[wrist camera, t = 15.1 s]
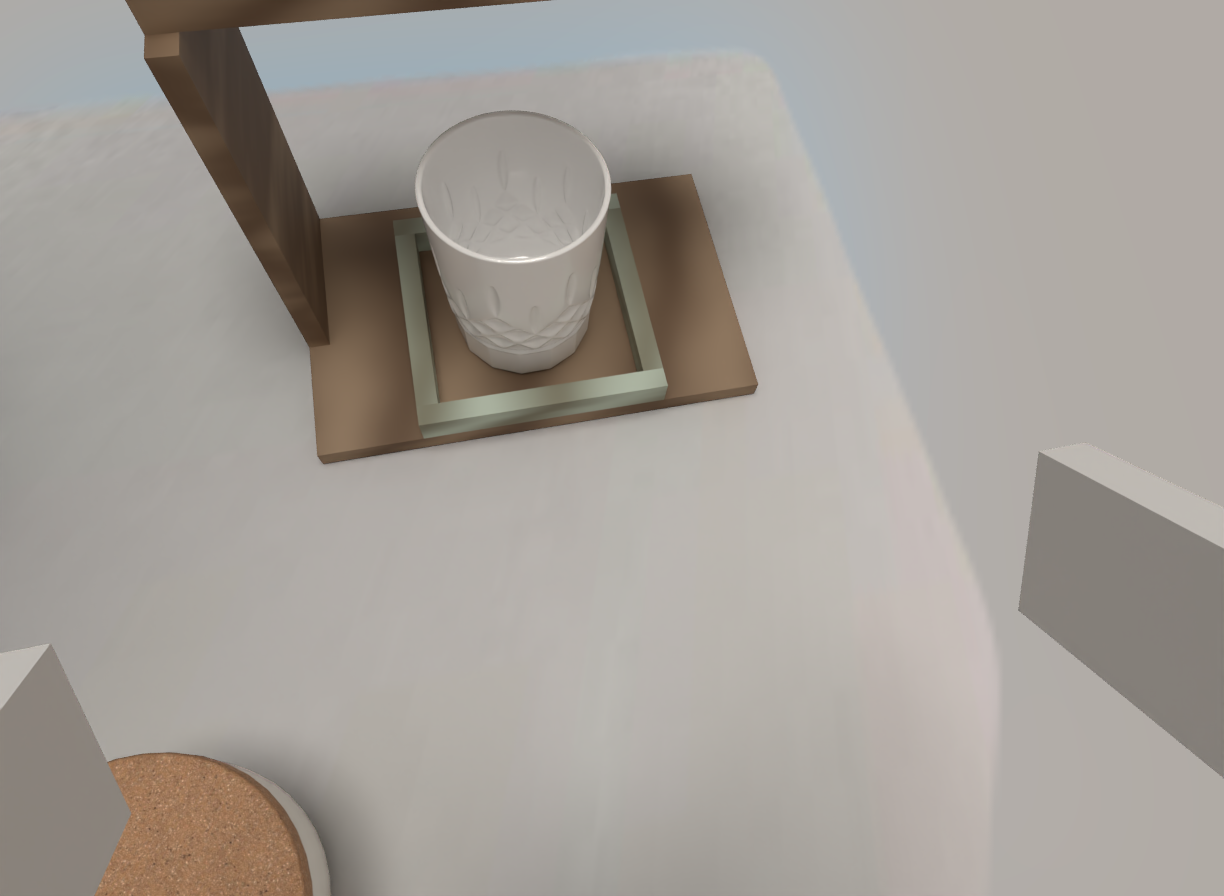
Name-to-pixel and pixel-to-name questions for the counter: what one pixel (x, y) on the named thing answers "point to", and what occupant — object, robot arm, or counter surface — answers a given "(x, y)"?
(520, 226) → the white cup
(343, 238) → the shelf unit
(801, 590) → the counter surface
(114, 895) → the lidded jar
